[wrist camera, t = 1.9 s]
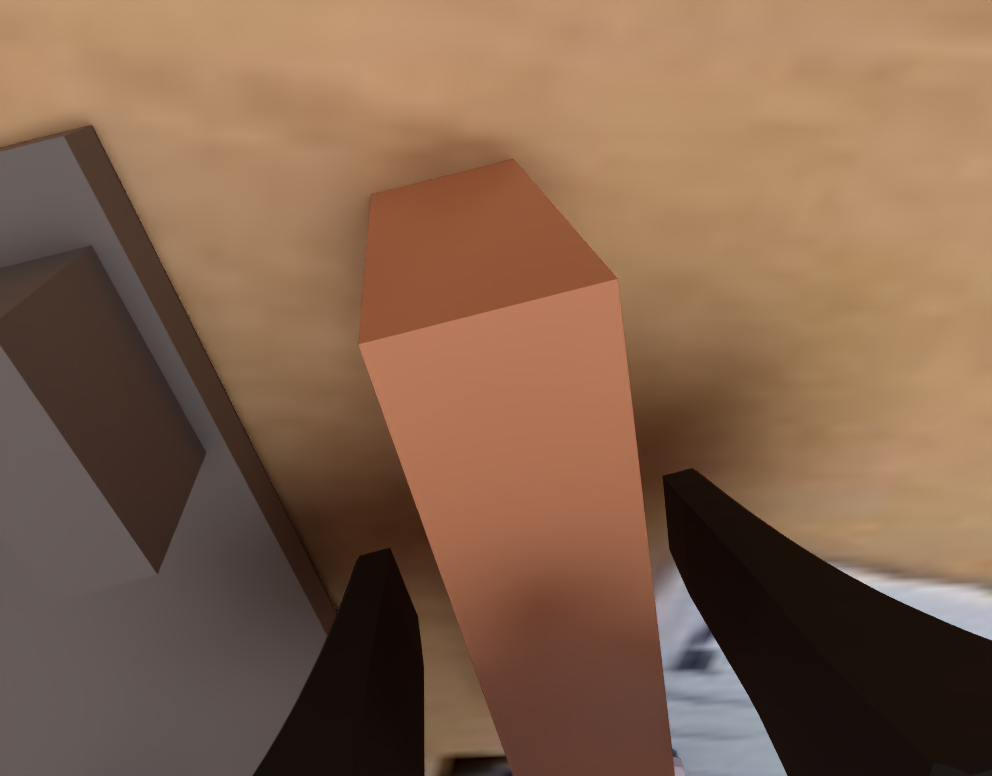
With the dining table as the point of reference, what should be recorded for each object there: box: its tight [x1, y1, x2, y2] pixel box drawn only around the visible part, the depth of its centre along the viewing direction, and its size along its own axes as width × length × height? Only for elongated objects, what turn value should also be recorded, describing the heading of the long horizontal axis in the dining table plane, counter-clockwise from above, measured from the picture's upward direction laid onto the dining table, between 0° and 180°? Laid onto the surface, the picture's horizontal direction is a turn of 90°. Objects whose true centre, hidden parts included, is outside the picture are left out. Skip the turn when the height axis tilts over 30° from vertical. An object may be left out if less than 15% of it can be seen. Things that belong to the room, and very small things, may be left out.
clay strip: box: [358, 159, 675, 776], centre depth 12 cm, size 14×2×6 cm, turn 12°
